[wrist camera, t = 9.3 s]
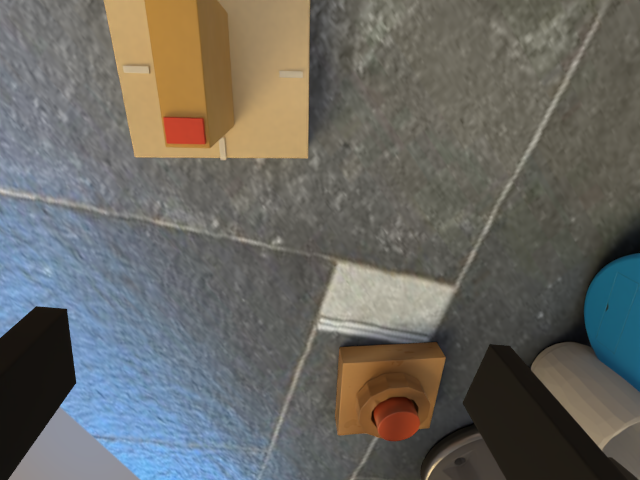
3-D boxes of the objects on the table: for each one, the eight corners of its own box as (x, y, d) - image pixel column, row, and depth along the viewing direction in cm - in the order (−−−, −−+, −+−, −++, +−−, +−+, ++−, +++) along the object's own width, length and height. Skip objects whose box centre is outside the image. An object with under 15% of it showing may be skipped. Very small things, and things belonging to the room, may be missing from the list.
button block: (436, 341, 35) (454, 372, 31) (421, 410, 39) (436, 444, 35) (339, 346, 34) (346, 378, 30) (334, 417, 38) (340, 452, 34)
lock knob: (193, 10, 19) (135, -38, 11) (227, 12, 19) (192, -34, 11) (205, 125, 21) (163, 148, 14) (234, 126, 21) (209, 149, 14)
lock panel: (306, -16, 21) (310, -31, 18) (305, 151, 25) (308, 160, 23) (119, -27, 20) (93, -45, 17) (151, 150, 24) (133, 159, 21)
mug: (513, 399, 40) (583, 492, 30) (522, 339, 36) (605, 424, 27) (617, 379, 40) (716, 465, 31) (637, 318, 36) (756, 395, 27)
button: (416, 394, 32) (423, 410, 31) (410, 423, 34) (417, 439, 32) (375, 396, 32) (380, 413, 30) (371, 426, 34) (375, 443, 32)
